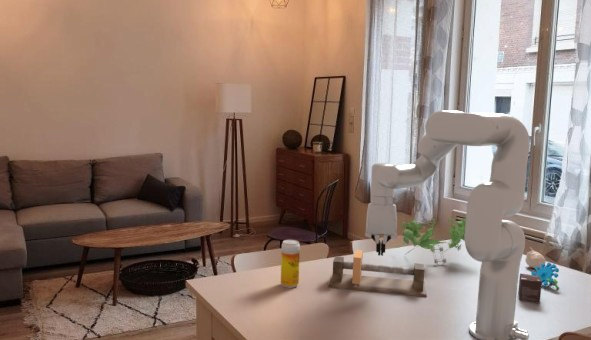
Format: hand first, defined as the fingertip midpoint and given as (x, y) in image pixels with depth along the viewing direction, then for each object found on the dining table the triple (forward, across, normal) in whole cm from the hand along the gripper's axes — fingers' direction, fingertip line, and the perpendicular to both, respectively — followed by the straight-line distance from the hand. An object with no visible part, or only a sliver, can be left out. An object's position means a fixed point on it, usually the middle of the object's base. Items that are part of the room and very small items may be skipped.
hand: (380, 254), depth 168 cm
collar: (+9, +8, -1) cm, 12 cm away
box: (+13, -48, -2) cm, 49 cm away
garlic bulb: (+12, -58, -36) cm, 70 cm away
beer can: (+11, +30, +7) cm, 32 cm away
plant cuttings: (+11, -20, -34) cm, 41 cm away
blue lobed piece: (+12, -56, -17) cm, 60 cm away
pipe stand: (+11, +1, -1) cm, 11 cm away
